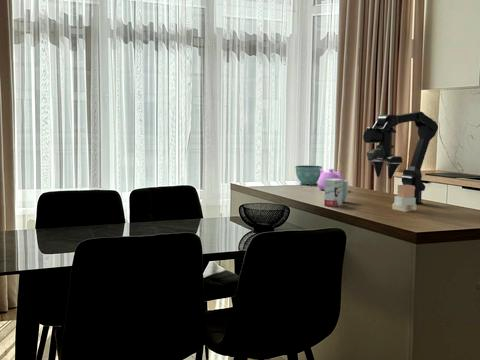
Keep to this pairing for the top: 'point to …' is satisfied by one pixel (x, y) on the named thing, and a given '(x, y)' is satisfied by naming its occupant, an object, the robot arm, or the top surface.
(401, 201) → the tower top
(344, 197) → the cup
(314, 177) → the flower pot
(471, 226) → the top surface
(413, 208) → the tower base
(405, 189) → the cube
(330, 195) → the ink box
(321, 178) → the teapot
